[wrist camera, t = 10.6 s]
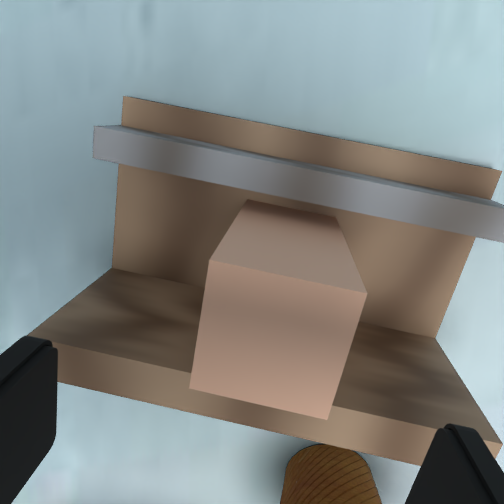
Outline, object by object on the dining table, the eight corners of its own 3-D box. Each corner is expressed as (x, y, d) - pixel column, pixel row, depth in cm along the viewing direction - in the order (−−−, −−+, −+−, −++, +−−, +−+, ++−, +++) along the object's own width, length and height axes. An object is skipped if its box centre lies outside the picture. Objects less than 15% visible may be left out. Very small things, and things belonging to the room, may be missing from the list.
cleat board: (115, 303, 26) (27, 393, 17) (130, 97, 21) (22, 81, 13) (413, 369, 25) (474, 497, 16) (492, 168, 21) (630, 202, 12)
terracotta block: (247, 199, 21) (209, 259, 12) (335, 217, 21) (367, 293, 12) (232, 279, 23) (189, 388, 14) (314, 297, 23) (327, 420, 14)
